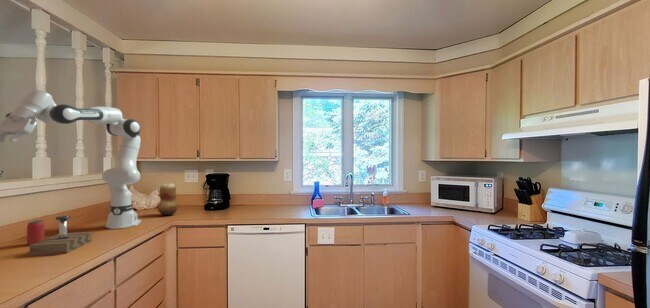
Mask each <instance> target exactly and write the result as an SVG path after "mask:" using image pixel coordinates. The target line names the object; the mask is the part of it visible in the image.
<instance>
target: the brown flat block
mask: <svg viewBox="0 0 650 308" xmlns="http://www.w3.org/2000/svg"><path fill="white" fill-rule="evenodd" d="M92 239H93V233H92V231H86V232H83V231H82V232H67V238H66V239H59V233H58V234H55V235H53V236H51V237H47V238H45V240H42V241H39V242H37V243H34V244H32V245H29V256H30V257H35V256H45V255H46V256H48V255H60V254H61V255H62V254H68V253H71V252H72V251H74V250H76V249H78V248H80V247H83V246H84V245H86V244H88V243H91V242H92V241H93V240H92Z"/></svg>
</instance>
